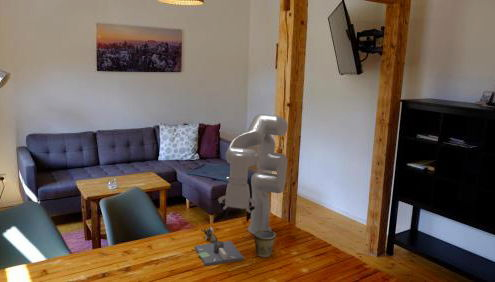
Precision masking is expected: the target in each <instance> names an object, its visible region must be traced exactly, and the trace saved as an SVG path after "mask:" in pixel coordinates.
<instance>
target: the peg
mask: <svg viewBox="0 0 495 282" xmlns="http://www.w3.org/2000/svg"><path fill="white" fill-rule="evenodd" d="M223 242H224V241H220V240H217V241H216V242H214V252H215V253H218V254H220V256H221V257H222V259H223V260H225V259H227V254H226V252H225V251H224V243H223Z"/></svg>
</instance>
